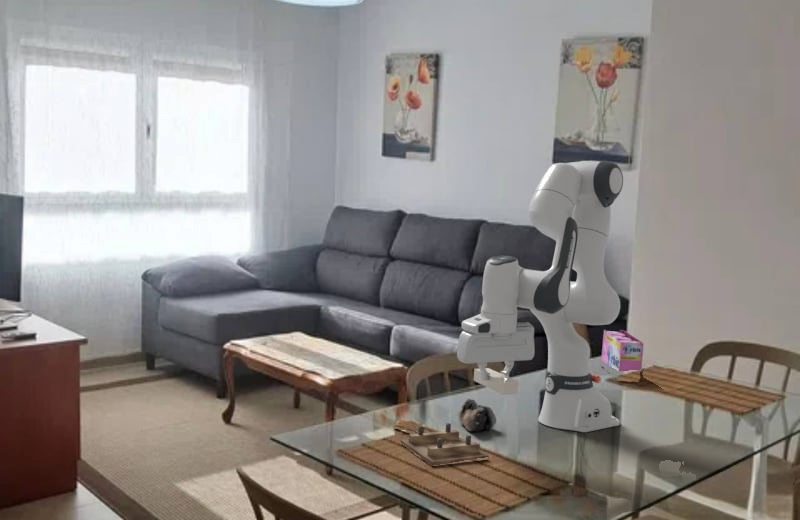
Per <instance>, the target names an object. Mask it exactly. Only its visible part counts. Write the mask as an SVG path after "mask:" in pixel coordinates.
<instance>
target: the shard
mask: <svg viewBox="0 0 800 520" xmlns="http://www.w3.org/2000/svg"><path fill="white" fill-rule="evenodd" d="M418 423H420V424H418ZM419 426H423V423H422V422H418V421H416V420H415V421H414V420H404V419H403V420H402V419H401V420H400V419H398V420H397V421H396V423H395V424H394V425H392V429H393V428H394V429H399V430H406V431H411V432H413V431H414V432H415V433H417V432H416V431H418V427H419ZM394 429H393V430H394Z"/></svg>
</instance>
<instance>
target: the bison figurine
mask: <svg viewBox="0 0 800 520" xmlns="http://www.w3.org/2000/svg"><path fill="white" fill-rule="evenodd" d="M458 420H459V421H460V423H461V424H463V426H464V428H465V429H466V430H467V429H468V430H467V431H469V430H470V431H469V432H472V431H476V432H480V431H482V430H486V429H488V430H487V431H492V430H493V429H494V426H495V425H496V424H497V417H496V415H495V414H494V412H493V410H492V408H491V407H490V406H486V405H482V404H479V403H477V402H476V401H475V399H471V398H467V400H465V402H464V403H463V405H461V407H460V409H459V411H458Z"/></svg>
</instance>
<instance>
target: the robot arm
mask: <svg viewBox="0 0 800 520" xmlns="http://www.w3.org/2000/svg"><path fill="white" fill-rule="evenodd" d="M623 185H624V176H623V172H622V170H621V167H620V166H619V165H618V164H617V163H614V162H612V161H608V160H607V161H606V160H601V161H596V160H580V161H573V162H571V161H570V162H557V163H553V164H552V165H550V166H549V167H548V169H547V170H546V171H545V173H544V175H543V176H542V178H540V181H539V182H538V185H537V186H536V188H535V191H534V193H533V195H532V197H531V200H530V203H529V206H528V217H529V219H530V222H531V224H532V225H533V227H534V228H535V229H536V230H537V231H539V232H540V233H541V234H543V235H544V236H546V237H548V238H550V239H552V240H554V241H555V247H554V254H553V258H552V262H551V266H550V268H549V269H547V270H544V271H543V270H534V269H528V268H524V267H522V266H520V264H519V260H518V258H517V257H515V256H512V255H497V256H496V255H495V256H492V257H490V258H488V259H487V260H486V264H485V267H484V270H483V275H482V276H483V278H482V287H481V288H482V289H481V295H482V305H481V308H480V313H478V314H476V315H474V316H472V317H469V318H466V319H465V320H464V319H463V320H462V322H461V330H463V331H462V332H460V335H459V337H458V341H457V350H456V351H457V352H456V357H457V359H458V361H460V362H461V363H464V364H467V365H468V364H477V367H478V369H480V371H481V379H482V380H490V373H488V372H487V371H486V369H485V368H488V363H499V362H500V363H501V362H504V364H505V366H504V368H503V370H500V372H499V373H500V374H503V375H505V376H507V377H510V372H511V371H512V369H513V368H514V366H515V361H516V362H517V361H531V360H533V358H534V357H535V353H536V352H535V338H534V336H535V327H534V325H532V323H530V322H529V321H525V322H518V307H519V308H521V309H529V310H530V312H531V313H532V314H533V315H534V316H535V317H536V318H537V320H538V321H539V322H540V323H541V326H542V328H543V330H544V334H545V335H546V340H547V351H548V352H547V358H548V359H547V369H546V370H545V376H544V378H545V379H544V388H545V392H544V398H543V403H542V406H541V407H542V408H541V410H540V413H539V417H538V419H537V420H538V422H539V423H541V424H543V425H544V426H548V427H550V428H553V429H554V428H555V429H559V430H560V429H561V430H567V431H568V430H569V431H576V432H579V433H588V432H592V431H598V430H603V429H607V428H612V427H618V426H620V424H621V423H620V420H619V419H618V418H617V417H615V416H614V415H612V405H611V402H610V400H609V399H608V398H607V397H606V396H604V395H603V394H602V392H600V391H599V390H598V389H596V388H595V386H594V383H596V384H599V383H600V382H601V380H602V378H601V376H600V375H597V374H591V373H590V372H589V371H590V359H591V358H590V356H591V348H590V345H589V343H588V341H587V340H586V339H585V338H584V337H582V336H581V335H579V334H578V332H577V331H576V329H575V327H574V325H573V323H575V324H582V325H588V326H604V325H611V324H612V323H614V321H616V319H617V318H618V316H619V314H620V310H621V300H620V297H619V295H618V293H617V291H616V290H615V289H614V288H613V287H612V286H611V284H610V283H609V281H608V280H607V277H606V274H605V267H604V264H605V263H604V262H605V255H606V249H607V245H608V243H607V242H608V239H609V234H610V228H611V215H612V214H611V212H612V210H611V205H612V204H613V203H614V202H615V201H616V199H617V198H618V197H619V195H620V194H621V191H622V189H623ZM573 270H574V271H575V272H576V274H577V275H576V281H571V278H572V277H571V276H572V271H573Z"/></svg>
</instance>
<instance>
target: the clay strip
mask: <svg viewBox="0 0 800 520" xmlns="http://www.w3.org/2000/svg"><path fill="white" fill-rule="evenodd" d="M485 369H486V371H487V372H488V373H490V380H482V379H481V371H480V369H479V368H474V371H473V382H476V383H478V384H480V385H482V386H484V387H486V388H488V389H491V390H492V391H495V392H496V393H498V394H500V395H505V396H506V395H515V394H518V391H519V390H518V387H519V380H517V379H514V378H512V377H510V376H509V377H507V376H505V375H503V374H500V372H498V371H496V370H494V369H491V368H490V367H485Z"/></svg>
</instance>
